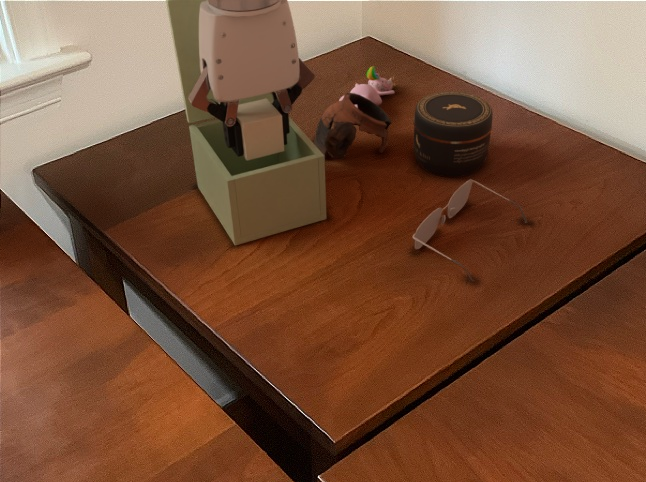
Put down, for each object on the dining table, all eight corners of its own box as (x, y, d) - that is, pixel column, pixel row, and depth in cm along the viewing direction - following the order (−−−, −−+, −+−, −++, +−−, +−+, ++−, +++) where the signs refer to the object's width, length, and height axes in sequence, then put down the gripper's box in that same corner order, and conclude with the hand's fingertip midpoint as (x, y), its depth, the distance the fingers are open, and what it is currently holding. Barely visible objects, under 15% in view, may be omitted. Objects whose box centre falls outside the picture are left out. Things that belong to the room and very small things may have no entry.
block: (246, 160, 92) (243, 124, 89) (232, 142, 95) (228, 106, 93) (284, 151, 94) (282, 115, 91) (269, 133, 97) (266, 98, 94)
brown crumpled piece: (318, 130, 115) (346, 81, 112) (374, 167, 115) (404, 119, 112) (292, 153, 105) (323, 100, 101) (354, 194, 105) (387, 142, 101)
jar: (398, 150, 110) (400, 99, 105) (462, 134, 113) (467, 83, 109) (435, 187, 103) (439, 134, 98) (502, 169, 106) (509, 116, 101)
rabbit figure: (366, 91, 127) (324, 119, 115) (369, 52, 124) (326, 78, 112) (404, 98, 125) (365, 128, 113) (407, 59, 122) (368, 86, 110)
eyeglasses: (469, 199, 101) (474, 173, 98) (527, 226, 98) (534, 199, 95) (408, 257, 92) (412, 229, 89) (470, 288, 89) (476, 260, 86)
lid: (266, -17, 93) (251, -26, 97) (167, 0, 89) (155, -9, 93) (279, 102, 101) (265, 90, 105) (189, 123, 97) (177, 110, 101)
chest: (326, 219, 98) (324, 155, 92) (235, 245, 94) (227, 181, 88) (282, 165, 107) (278, 104, 102) (197, 187, 103) (188, 125, 98)
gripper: (305, -36, 89) (311, 115, 100) (152, -9, 83) (177, 147, 94) (335, -14, 83) (338, 143, 95) (173, 16, 78) (198, 179, 89)
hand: (258, 143), depth 94 cm, fingers closed on block, 4 cm apart
